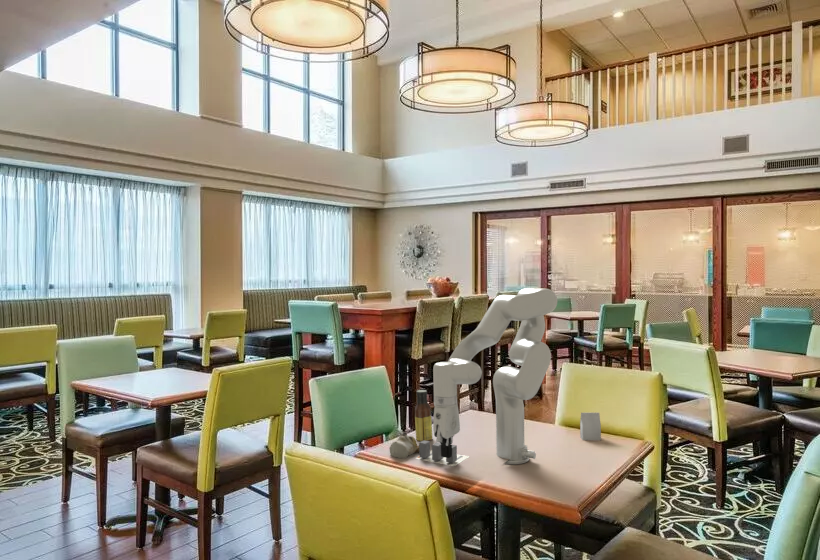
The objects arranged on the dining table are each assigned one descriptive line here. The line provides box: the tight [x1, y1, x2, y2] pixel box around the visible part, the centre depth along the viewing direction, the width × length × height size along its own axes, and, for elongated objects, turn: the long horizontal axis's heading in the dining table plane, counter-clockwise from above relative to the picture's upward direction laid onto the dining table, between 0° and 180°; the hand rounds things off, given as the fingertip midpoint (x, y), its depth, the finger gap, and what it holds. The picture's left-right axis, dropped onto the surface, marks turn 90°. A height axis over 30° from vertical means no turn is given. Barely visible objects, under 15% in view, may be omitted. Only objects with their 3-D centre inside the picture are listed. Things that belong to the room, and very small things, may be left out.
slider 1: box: [418, 440, 431, 459], centre depth 192 cm, size 2×3×5 cm
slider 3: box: [446, 444, 458, 463], centre depth 187 cm, size 2×3×5 cm
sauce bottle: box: [414, 389, 433, 442], centre depth 214 cm, size 6×6×20 cm
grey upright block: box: [579, 412, 602, 441], centre depth 216 cm, size 4×7×10 cm, turn 87°
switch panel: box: [414, 449, 470, 467], centre depth 192 cm, size 15×11×2 cm
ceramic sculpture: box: [389, 432, 419, 459], centre depth 199 cm, size 11×9×15 cm
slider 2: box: [431, 442, 443, 461], centre depth 190 cm, size 2×3×5 cm
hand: (446, 456), depth 184 cm, fingers closed
